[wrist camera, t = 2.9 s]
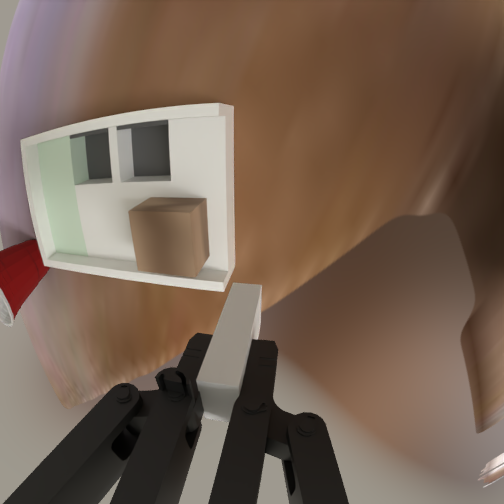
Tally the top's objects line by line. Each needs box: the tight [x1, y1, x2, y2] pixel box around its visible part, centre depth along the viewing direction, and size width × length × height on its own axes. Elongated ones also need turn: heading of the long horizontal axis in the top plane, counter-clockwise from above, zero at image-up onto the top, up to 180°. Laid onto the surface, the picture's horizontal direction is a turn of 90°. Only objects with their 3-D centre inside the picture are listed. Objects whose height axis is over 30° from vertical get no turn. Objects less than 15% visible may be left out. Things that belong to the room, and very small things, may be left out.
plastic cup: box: [0, 240, 49, 327], centre depth 30 cm, size 11×11×12 cm
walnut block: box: [128, 197, 210, 277], centre depth 24 cm, size 6×6×4 cm
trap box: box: [20, 103, 235, 292], centre depth 26 cm, size 24×16×5 cm, turn 89°
